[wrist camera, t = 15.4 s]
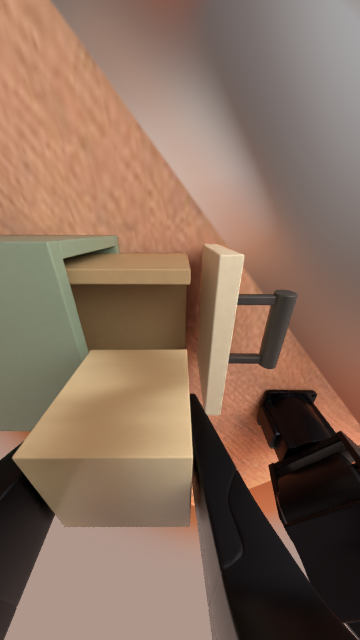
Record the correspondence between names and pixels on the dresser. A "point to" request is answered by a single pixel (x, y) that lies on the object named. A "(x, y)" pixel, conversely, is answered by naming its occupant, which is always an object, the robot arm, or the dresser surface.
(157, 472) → the block
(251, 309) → the dresser surface
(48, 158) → the dresser surface
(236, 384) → the dresser surface
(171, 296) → the drawer
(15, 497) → the robot arm
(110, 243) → the cabinet
